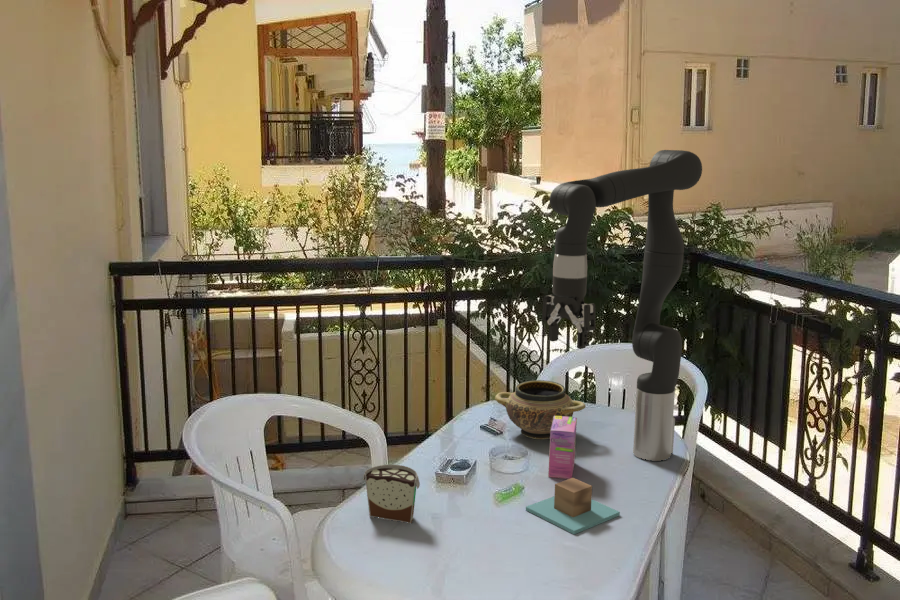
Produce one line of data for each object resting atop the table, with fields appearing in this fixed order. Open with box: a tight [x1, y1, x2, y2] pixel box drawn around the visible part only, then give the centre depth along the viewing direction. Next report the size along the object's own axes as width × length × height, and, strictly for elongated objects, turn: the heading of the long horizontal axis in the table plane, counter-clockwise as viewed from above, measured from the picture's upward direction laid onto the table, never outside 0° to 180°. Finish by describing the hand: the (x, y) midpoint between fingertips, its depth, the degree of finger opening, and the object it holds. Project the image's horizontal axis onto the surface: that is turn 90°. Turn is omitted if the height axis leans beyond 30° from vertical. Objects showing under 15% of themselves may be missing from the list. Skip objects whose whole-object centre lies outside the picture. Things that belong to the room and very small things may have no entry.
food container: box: [362, 464, 421, 524], centre depth 179 cm, size 12×6×10 cm, turn 71°
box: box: [547, 416, 578, 480], centre depth 203 cm, size 10×6×12 cm, turn 168°
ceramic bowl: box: [494, 379, 587, 440], centre depth 227 cm, size 24×18×15 cm
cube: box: [554, 477, 593, 517], centre depth 180 cm, size 6×6×6 cm
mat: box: [525, 495, 621, 535], centre depth 181 cm, size 14×14×1 cm
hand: (567, 344), depth 193 cm, fingers open, 8 cm apart
